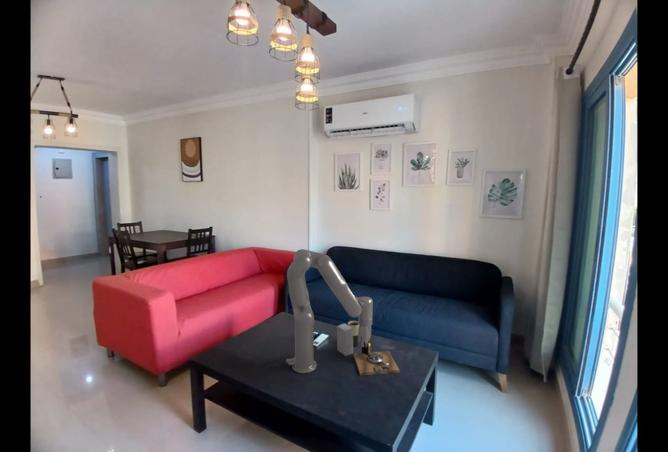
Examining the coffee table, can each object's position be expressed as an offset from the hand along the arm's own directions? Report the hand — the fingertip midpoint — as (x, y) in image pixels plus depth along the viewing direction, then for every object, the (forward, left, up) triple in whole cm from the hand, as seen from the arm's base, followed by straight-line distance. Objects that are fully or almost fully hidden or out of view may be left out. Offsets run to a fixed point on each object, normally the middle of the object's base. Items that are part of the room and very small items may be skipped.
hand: (365, 353), depth 168 cm
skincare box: (-9, +9, -4) cm, 14 cm away
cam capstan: (+6, -5, -2) cm, 8 cm away
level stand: (+5, -5, -4) cm, 8 cm away
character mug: (-3, +17, -4) cm, 18 cm away
